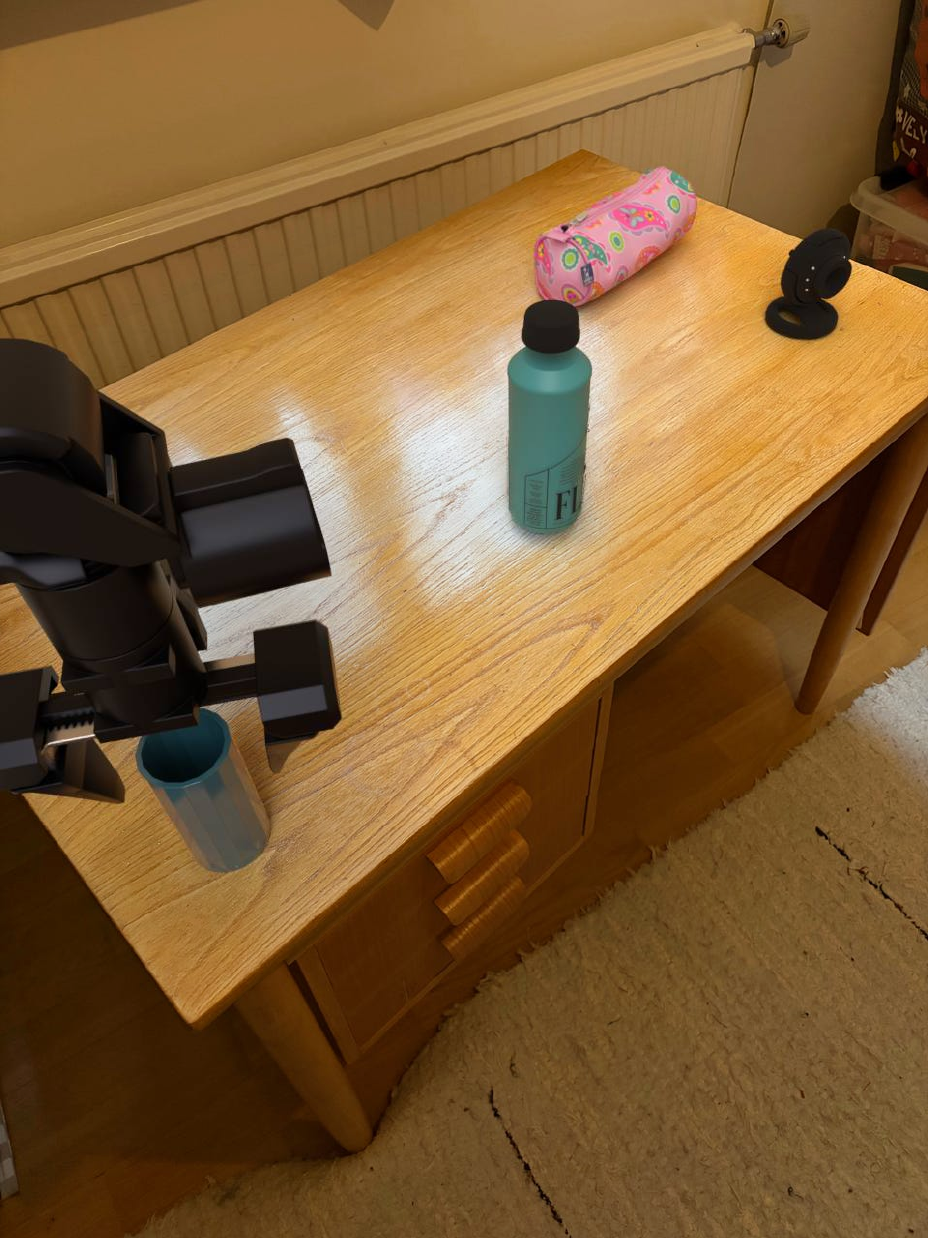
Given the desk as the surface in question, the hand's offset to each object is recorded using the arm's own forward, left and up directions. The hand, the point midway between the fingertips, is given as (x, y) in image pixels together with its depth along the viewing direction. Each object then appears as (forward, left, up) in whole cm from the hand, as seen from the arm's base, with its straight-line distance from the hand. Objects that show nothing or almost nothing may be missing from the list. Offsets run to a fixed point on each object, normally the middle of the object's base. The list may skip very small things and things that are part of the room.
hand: (200, 781), depth 52 cm
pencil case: (+2, +78, -7) cm, 78 cm away
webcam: (+24, +75, -7) cm, 79 cm away
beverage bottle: (+9, +36, -7) cm, 37 cm away
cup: (0, 0, -7) cm, 7 cm away
